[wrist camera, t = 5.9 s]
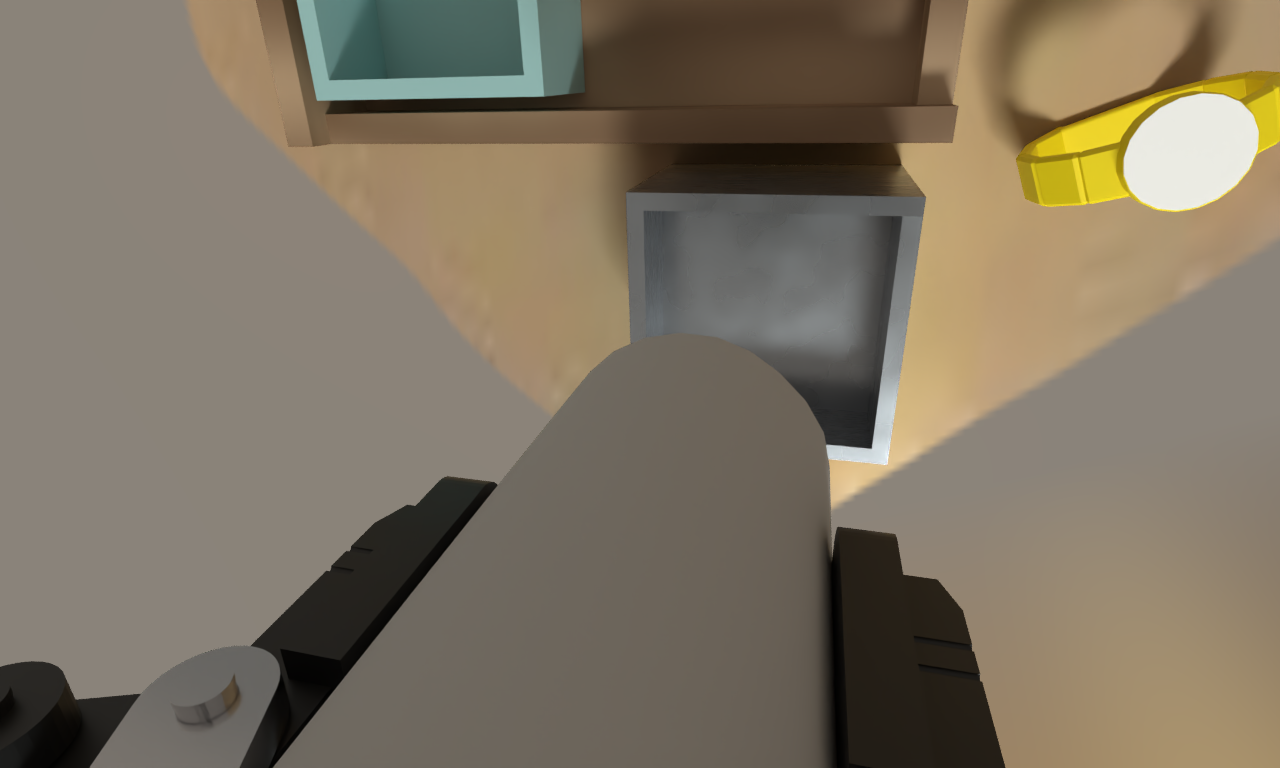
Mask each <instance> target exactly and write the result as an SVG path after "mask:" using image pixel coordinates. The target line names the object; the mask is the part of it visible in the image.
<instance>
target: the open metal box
mask: <svg viewBox="0 0 1280 768" xmlns="http://www.w3.org/2000/svg"><path fill="white" fill-rule="evenodd" d="M925 200H926V196H925V195H924V194H923V192H922V191H921V190H920V188H919V187H918V186H917V184H916V183H915V182H914V181H913V179H912V178H911V177H910V175H909V174H908V173H907V171H906V170H905V169H904V167H903V166H902V165H747V164H671V165H670V166H668V167H666V168H665V169H663V170H661V171H660V172H658V173H657V174H655V175H653V176H652V177H650V178H648V179H647V180H645V181H644V182H642V183H640V184H639V185H637V186H635V187H634V188H632V189H631V190H629V191H627V192H626V212H627V243H628V275H629V307H630V339H631V344H632V343H634V342H636V341H638V340H641V339H643V338H647V337H654V336H661V335H669V334H676V333H686V334H694V335H703V336H711V337H718V338H720V339H723V340H725V341H727V342H730V343H732V344H734V345H737V346H739V347H741V348H744V349H746V350H749V351H751V352H752V353H753V354H755V355H756V356H757V357H759V358H760V359H762V360H763V361H764V362H766V363H767V364H768V365H770V366H771V367H772V368H774V369H775V370H776V371H778V372H779V373H780V374H781V375H782V376H783V377H784V378H785V379H786V380H787V381H788V382H789V383H790V384H791V386H792V387H793V388H794V389H795V390H796V391H797V392H798V393H799V394H800V395H801V396H802V397H803V398H804V399H805V401H806V402H807V404H808V405H809V407H810V409H811V411H812V413H813V414H814V416H815V418H816V420H817V421H818V423H819V425H820V427H821V429H822V430H823V432H824V436H825V442H826V448H827V454H828V459H834V460H844V461H854V462H863V463H873V464H883V465H887V463H888V456H889V449H890V442H891V435H892V428H893V421H894V414H895V407H896V400H897V393H898V387H899V380H900V373H901V366H902V359H903V352H904V345H905V338H906V331H907V324H908V317H909V310H910V304H911V297H912V290H913V283H914V276H915V269H916V262H917V255H918V248H919V241H920V234H921V228H922V221H923V214H924V207H925Z"/></svg>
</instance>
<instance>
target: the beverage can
mask: <svg viewBox="0 0 1280 768" xmlns="http://www.w3.org/2000/svg"><path fill="white" fill-rule="evenodd" d="M273 768H837V745H836V708H835V669H834V631H833V592H832V537H831V502H830V467H829V460H828V454H827V448H826V442H825V436H824V432H823V430H822V429H821V427H820V425H819V423H818V421H817V420H816V418H815V416H814V414H813V413H812V411H811V409H810V407H809V405H808V404H807V402H806V401H805V399H804V398H803V397H802V396H801V395H800V394H799V393H798V392H797V391H796V390H795V389H794V388H793V387H792V386H791V384H790V383H789V382H788V381H787V380H786V379H785V378H784V377H783V376H782V375H781V374H780V373H779V372H778V371H776V370H775V369H774V368H772V367H771V366H770V365H768V364H767V363H766V362H764V361H763V360H762V359H760V358H759V357H757V356H756V355H755V354H753V353H752V352H751V351H749V350H746V349H744V348H741V347H739V346H737V345H734V344H732V343H730V342H727V341H725V340H723V339H720V338H718V337H711V336H703V335H694V334H686V333H676V334H669V335H661V336H654V337H647V338H643V339H641V340H638V341H636V342H634V343H632V344H629V345H627V346H625V347H623V348H620V349H618V350H616V351H614V352H612V353H611V354H610V355H609V356H608V357H607V358H606V359H604V360H603V361H602V362H601V363H600V364H599V365H597V366H596V367H595V368H594V369H593V370H592V371H590V373H589V374H588V375H587V376H586V377H585V379H584V380H583V381H582V382H581V384H580V385H579V386H578V387H577V388H576V390H575V391H574V392H573V393H572V395H571V396H570V397H569V398H568V399H567V401H566V402H565V403H564V404H563V406H562V407H561V408H560V409H559V410H558V412H557V413H556V414H555V415H554V417H553V418H552V419H551V420H550V421H549V423H548V424H547V425H546V426H545V428H544V429H543V430H542V431H541V432H540V434H539V435H538V436H537V437H536V439H535V440H534V441H533V442H532V444H531V445H530V446H529V447H528V449H527V450H526V451H525V452H524V453H523V455H522V456H521V457H520V458H519V460H518V461H517V462H516V463H515V465H514V466H513V467H512V468H511V470H510V471H509V472H508V473H507V475H506V476H505V477H504V478H503V480H502V481H501V482H500V483H499V485H498V486H497V487H496V488H495V489H494V491H493V492H492V493H491V494H490V496H489V497H488V498H487V499H486V501H485V502H484V503H483V504H482V506H481V507H480V508H479V509H478V511H477V512H476V513H475V514H474V516H473V517H472V518H471V519H470V521H469V522H468V523H467V524H466V526H465V527H464V528H463V529H462V531H461V532H460V533H459V534H458V536H457V537H456V538H455V539H454V541H453V542H452V543H451V544H450V546H449V547H448V548H447V550H446V551H445V552H444V553H443V555H442V556H441V557H440V558H439V560H438V561H437V562H436V563H435V565H434V566H433V567H432V568H431V570H430V571H429V572H428V573H427V575H426V576H425V577H424V578H423V580H422V581H421V582H420V583H419V585H418V586H417V587H416V588H415V590H414V591H413V592H412V593H411V595H410V596H409V597H408V598H407V600H406V601H405V602H404V603H403V605H402V606H401V607H400V609H399V610H398V611H397V612H396V614H395V615H394V616H393V617H392V619H391V620H390V621H389V622H388V624H387V625H386V626H385V627H384V629H383V630H382V631H381V632H380V634H379V635H378V636H377V637H376V639H375V640H374V641H373V642H372V644H371V645H370V646H369V647H368V649H367V650H366V651H365V652H364V654H363V655H362V656H361V657H360V659H359V660H358V661H357V663H356V664H355V665H354V666H353V668H352V669H351V670H350V671H349V673H348V674H347V675H346V676H345V678H344V679H343V680H342V681H341V683H340V684H339V685H338V686H337V688H336V689H335V690H334V691H333V693H332V694H331V695H330V696H329V698H328V699H327V700H326V702H325V703H324V704H323V705H322V707H321V708H320V709H319V710H318V712H317V713H316V714H315V715H314V717H313V718H312V719H311V720H310V722H309V723H308V724H307V725H306V727H305V728H304V729H303V730H302V732H301V733H300V734H299V735H298V737H297V738H296V739H295V741H294V742H293V743H292V744H291V746H290V747H289V748H288V749H287V751H286V752H285V753H284V754H283V756H282V757H281V758H280V759H279V761H278V762H277V763H276V764H275V766H274V767H273Z"/></svg>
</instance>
